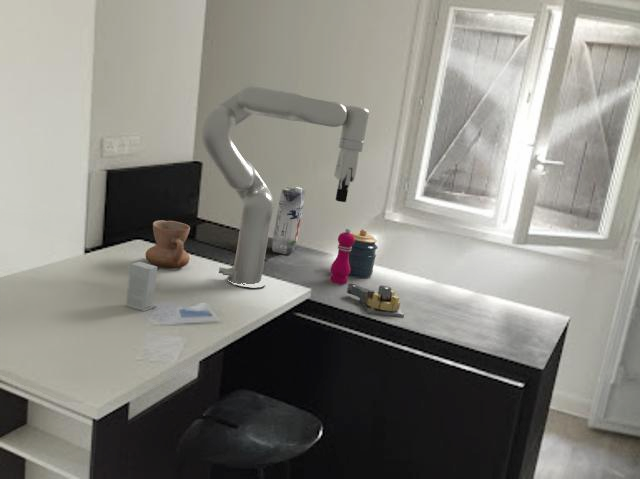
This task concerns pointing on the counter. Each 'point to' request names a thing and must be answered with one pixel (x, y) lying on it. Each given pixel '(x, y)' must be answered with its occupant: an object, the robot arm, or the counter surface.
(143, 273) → the skincare box
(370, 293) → the yellow mechanical assembly
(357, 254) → the canister
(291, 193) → the juice carton
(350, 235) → the pepper mill
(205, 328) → the counter surface
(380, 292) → the grey mounting base
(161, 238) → the ceramic jug
